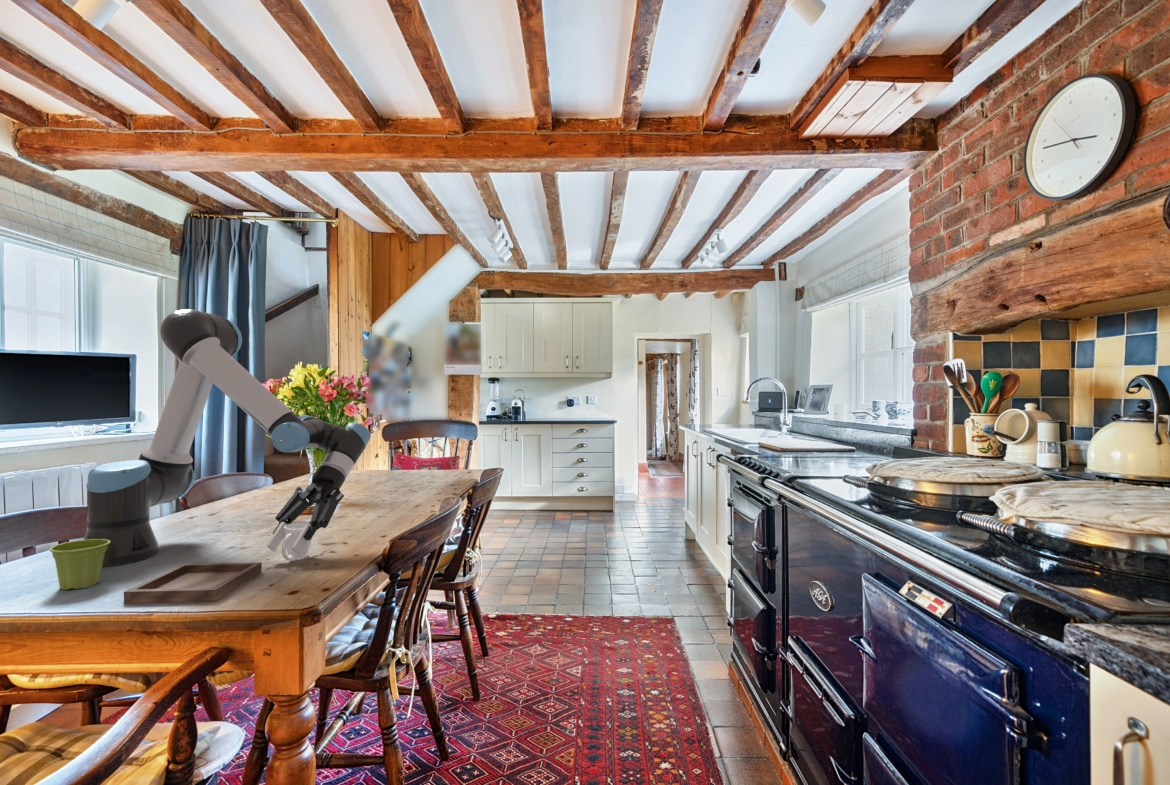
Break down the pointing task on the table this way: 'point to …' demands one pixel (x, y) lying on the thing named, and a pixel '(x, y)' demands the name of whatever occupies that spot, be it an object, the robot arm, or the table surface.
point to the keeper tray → (193, 583)
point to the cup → (290, 537)
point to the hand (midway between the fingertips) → (282, 549)
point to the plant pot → (79, 562)
